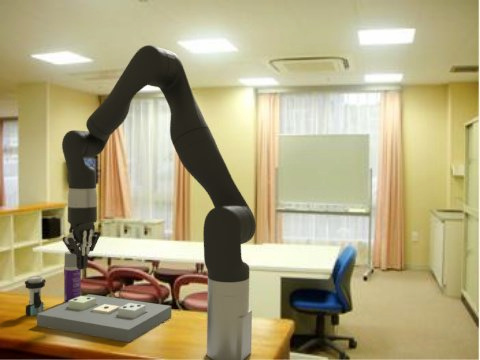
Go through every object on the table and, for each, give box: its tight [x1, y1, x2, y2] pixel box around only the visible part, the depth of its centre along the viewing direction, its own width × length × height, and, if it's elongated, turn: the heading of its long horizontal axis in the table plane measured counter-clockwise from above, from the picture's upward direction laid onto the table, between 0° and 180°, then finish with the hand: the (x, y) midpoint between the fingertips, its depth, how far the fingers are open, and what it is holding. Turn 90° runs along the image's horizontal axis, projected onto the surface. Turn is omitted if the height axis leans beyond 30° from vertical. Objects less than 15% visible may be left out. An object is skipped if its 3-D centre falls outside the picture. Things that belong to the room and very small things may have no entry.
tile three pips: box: [118, 303, 145, 319], centre depth 121 cm, size 5×5×3 cm
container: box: [63, 250, 82, 304], centre depth 141 cm, size 5×5×15 cm
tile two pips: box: [68, 295, 96, 311], centre depth 127 cm, size 5×5×3 cm
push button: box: [24, 275, 46, 317], centre depth 131 cm, size 7×5×10 cm
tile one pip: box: [93, 304, 120, 315], centre depth 124 cm, size 5×5×3 cm
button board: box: [36, 293, 172, 343], centre depth 124 cm, size 28×20×3 cm
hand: (82, 268), depth 127 cm, fingers closed
